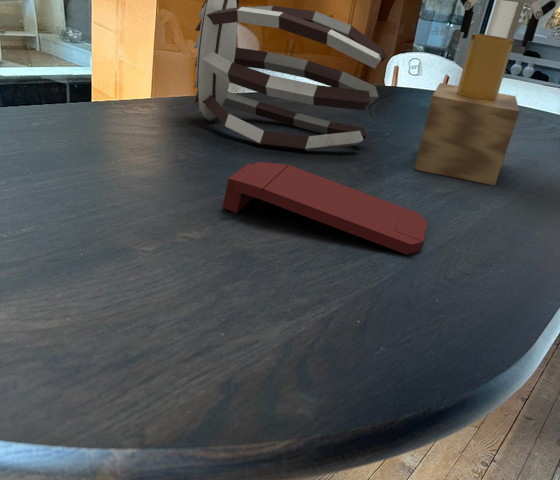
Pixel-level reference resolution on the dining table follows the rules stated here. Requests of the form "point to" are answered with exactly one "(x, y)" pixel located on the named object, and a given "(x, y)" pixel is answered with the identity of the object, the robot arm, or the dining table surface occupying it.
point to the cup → (484, 66)
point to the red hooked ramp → (327, 204)
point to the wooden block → (466, 135)
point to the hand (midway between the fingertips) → (494, 42)
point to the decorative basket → (234, 69)
